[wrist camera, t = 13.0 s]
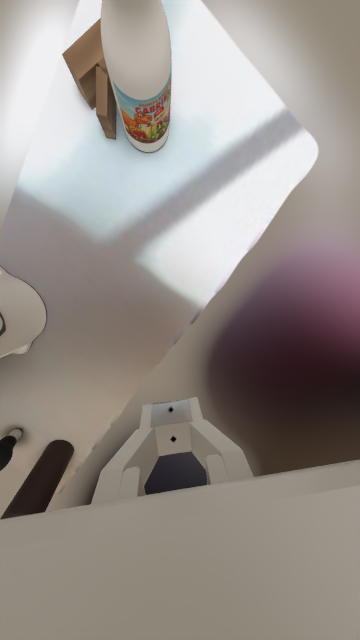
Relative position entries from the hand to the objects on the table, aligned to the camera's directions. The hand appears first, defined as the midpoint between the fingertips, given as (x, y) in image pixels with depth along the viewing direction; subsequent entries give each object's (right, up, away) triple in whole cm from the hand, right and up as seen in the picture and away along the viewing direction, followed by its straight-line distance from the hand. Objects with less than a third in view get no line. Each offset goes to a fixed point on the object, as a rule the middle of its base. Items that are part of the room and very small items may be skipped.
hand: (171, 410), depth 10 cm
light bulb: (-40, -23, +36) cm, 58 cm away
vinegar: (-31, -29, +38) cm, 57 cm away
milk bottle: (-5, +38, +21) cm, 44 cm away
